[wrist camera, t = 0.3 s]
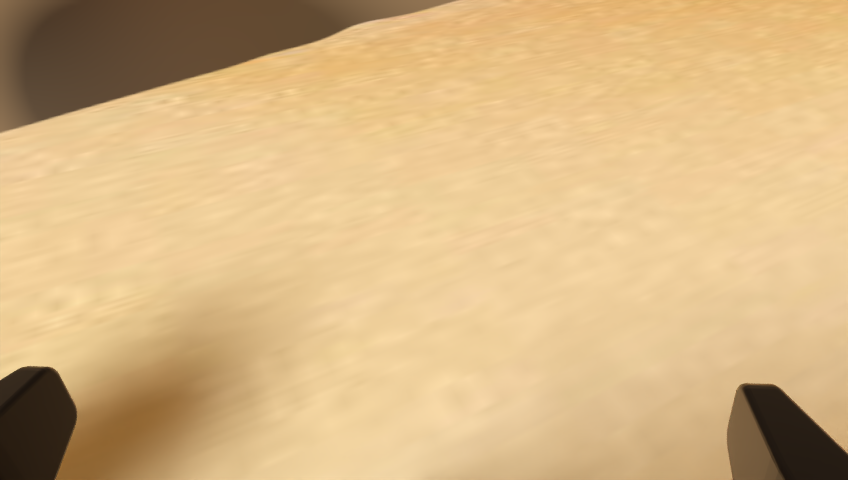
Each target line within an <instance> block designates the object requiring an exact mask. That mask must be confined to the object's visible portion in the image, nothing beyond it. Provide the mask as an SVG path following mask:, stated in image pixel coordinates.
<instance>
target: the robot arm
mask: <svg viewBox="0 0 848 480" xmlns="http://www.w3.org/2000/svg"><path fill="white" fill-rule="evenodd" d="M76 420H77V409H76V406H75V403H74V401H73V400H72V398H71V396H70V394H69V392H68V390H67V388H66V386H65V384H64V383H63V381H62V379H61V377H60V375H59V373H58V372H57V371H56V370H55V369H53V368H51V367H37V366H27V367H22V368H20V369H18V370H16V371H14V372H13V373H11V374H10V375H8V376H6V377H5V378H3V379H2V380H0V480H55V479H56V476H57V473H58V471H59V468H60V465H61V463H62V460H63V457H64V454H65V452H66V449H67V446H68V444H69V441H70V438H71V436H72V433H73V430H74V428H75V425H76ZM727 446H728V453H729V459H730V465H731V471H732V477H733V480H848V453H847V452H846V451H845V450H844V449H843V448H842V447H840V446H839V445H838V444H837V443H836V442H835V441H834V440H833V439H832V438H831V437H830V436H829V435H828V434H827V433H826V432H825V431H824V430H823V429H822V428H821V427H820V426H819V425H818V424H817V423H816V422H815V421H814V420H813V419H812V418H810V417H809V416H808V415H807V414H806V413H805V412H804V411H803V410H802V409H801V408H800V407H799V406H798V405H797V404H796V403H795V402H794V401H793V400H792V399H791V398H790V397H789V396H788V395H787V394H786V393H785V392H784V391H783V390H781V389H780V388H779V387H777V386H775V385H773V384H748V383H745V384H741V385H740V386H739V387H738V389H737V390H736V394H735V398H734V402H733V407H732V411H731V415H730V420H729V424H728V429H727Z"/></svg>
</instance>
